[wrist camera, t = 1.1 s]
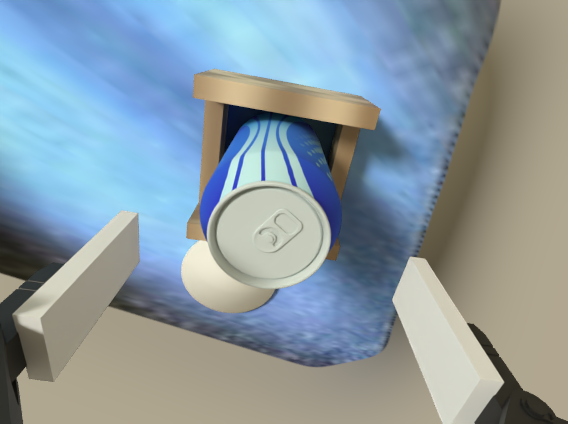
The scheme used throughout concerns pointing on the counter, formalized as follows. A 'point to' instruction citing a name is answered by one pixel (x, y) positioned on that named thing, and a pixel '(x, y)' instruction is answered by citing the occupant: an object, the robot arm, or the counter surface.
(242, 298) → the trivet
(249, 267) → the beer can
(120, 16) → the counter surface
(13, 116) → the counter surface
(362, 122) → the oak holder
